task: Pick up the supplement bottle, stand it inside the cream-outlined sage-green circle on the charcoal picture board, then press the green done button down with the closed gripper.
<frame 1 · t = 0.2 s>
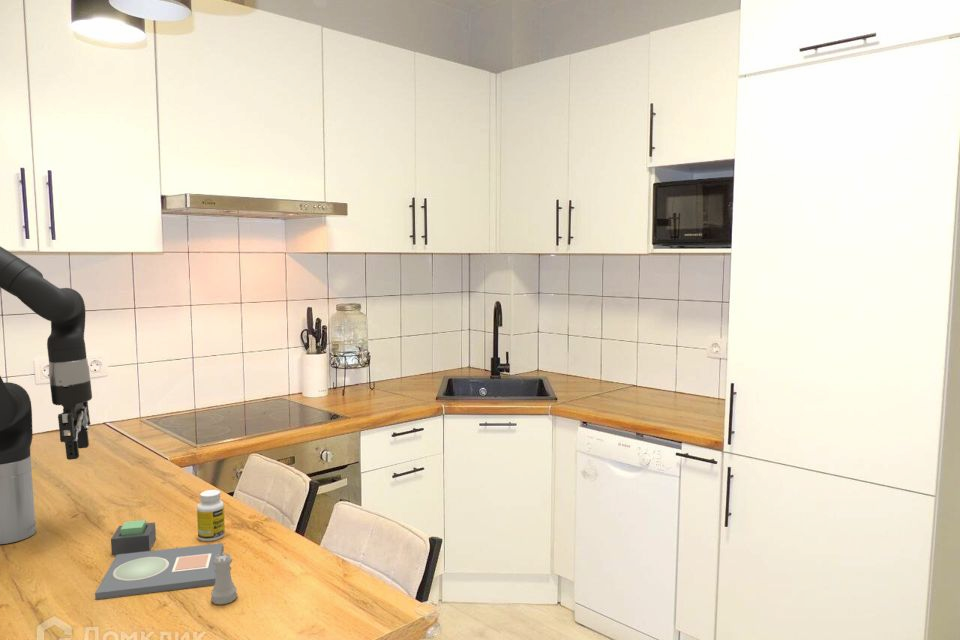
hand: (78, 453, 150), 17 cm above the counter, tool pointing down, fingers open, 8 cm apart
done button: (133, 530, 142), point 4 cm above the counter, slide at 0.0 cm
rook chess piece: (224, 600, 121), on the counter
picture board: (164, 572, 131), on the counter
supplement bottle: (211, 537, 148), on the counter
button housing: (134, 546, 143), on the counter
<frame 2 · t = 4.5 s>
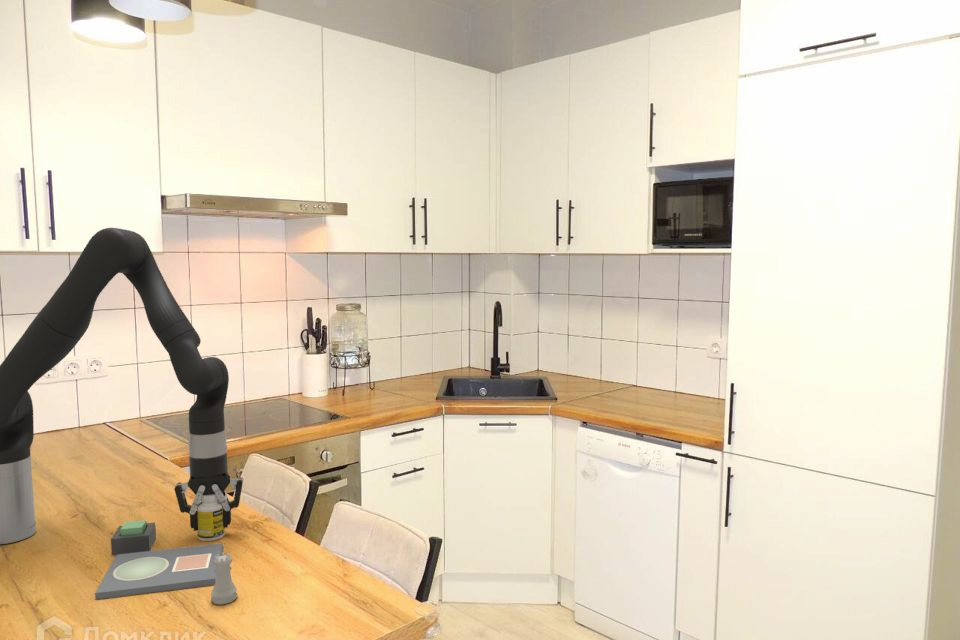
hand: (211, 527, 148), 2 cm above the counter, tool pointing down, fingers closed on supplement bottle, 5 cm apart
supplement bottle: (211, 537, 148), on the counter, touching gripper
everything else where it was.
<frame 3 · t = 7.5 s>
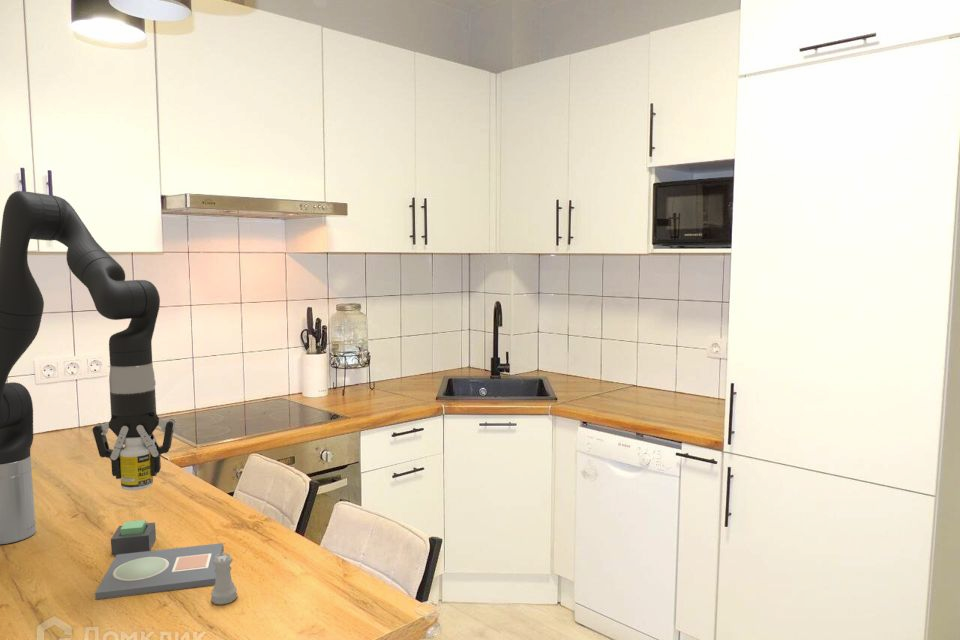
hand: (137, 475, 129), 19 cm above the counter, tool pointing down, fingers closed on supplement bottle, 5 cm apart
supplement bottle: (137, 487, 129), point 17 cm above the counter, touching gripper
everything else where it was.
when the fingers open (5 cm above the counter, at t = 10.6 s): supplement bottle drops 2 cm, resting on picture board.
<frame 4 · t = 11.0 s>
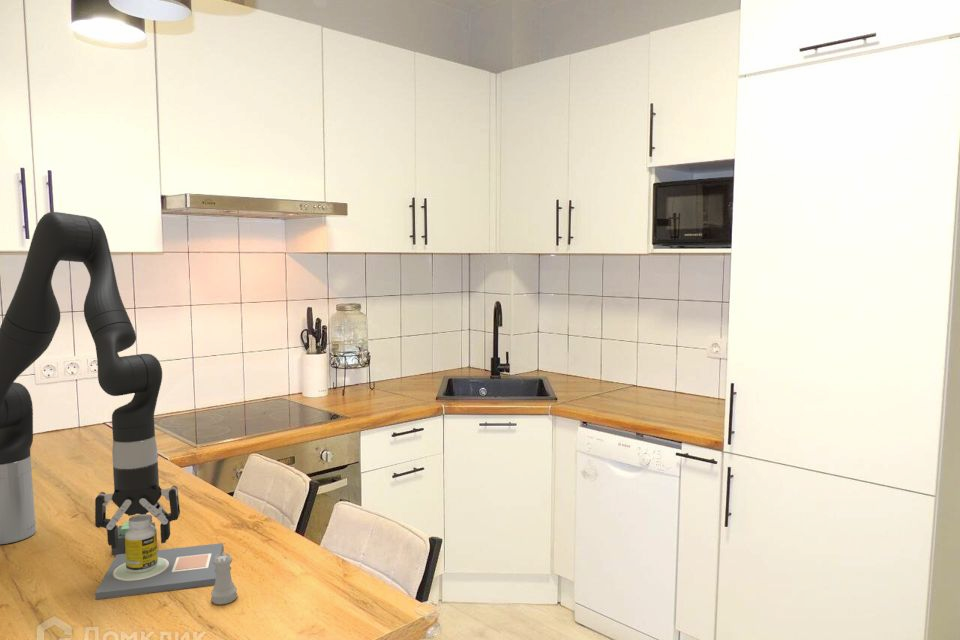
hand: (140, 544, 130), 6 cm above the counter, tool pointing down, fingers open, 8 cm apart
supplement bottle: (142, 568, 130), point 1 cm above the counter, touching picture board
everything else where it was.
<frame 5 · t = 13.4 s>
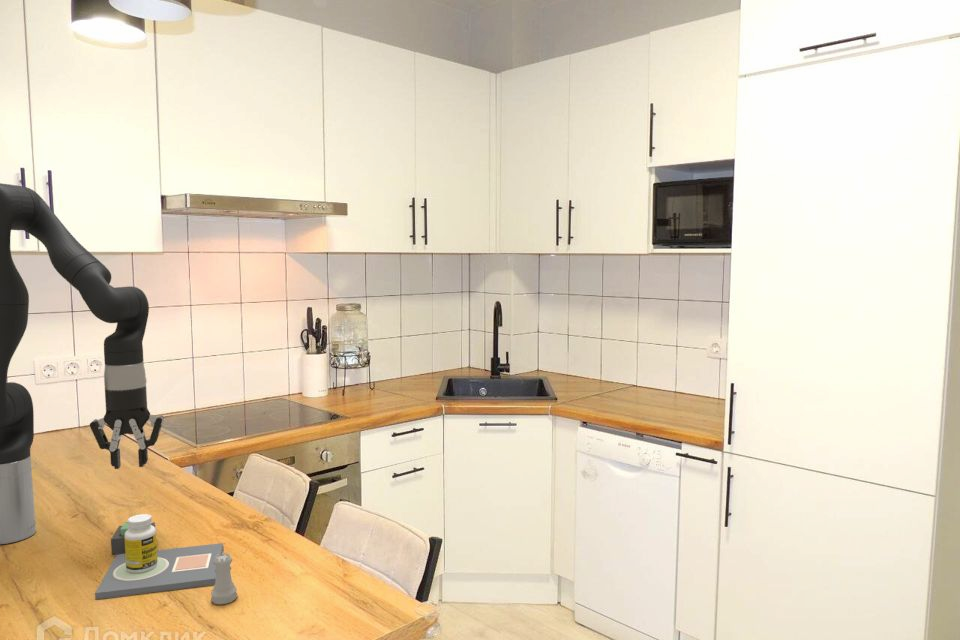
hand: (130, 466, 141), 17 cm above the counter, tool pointing down, fingers open, 4 cm apart
nothing on the counter moved.
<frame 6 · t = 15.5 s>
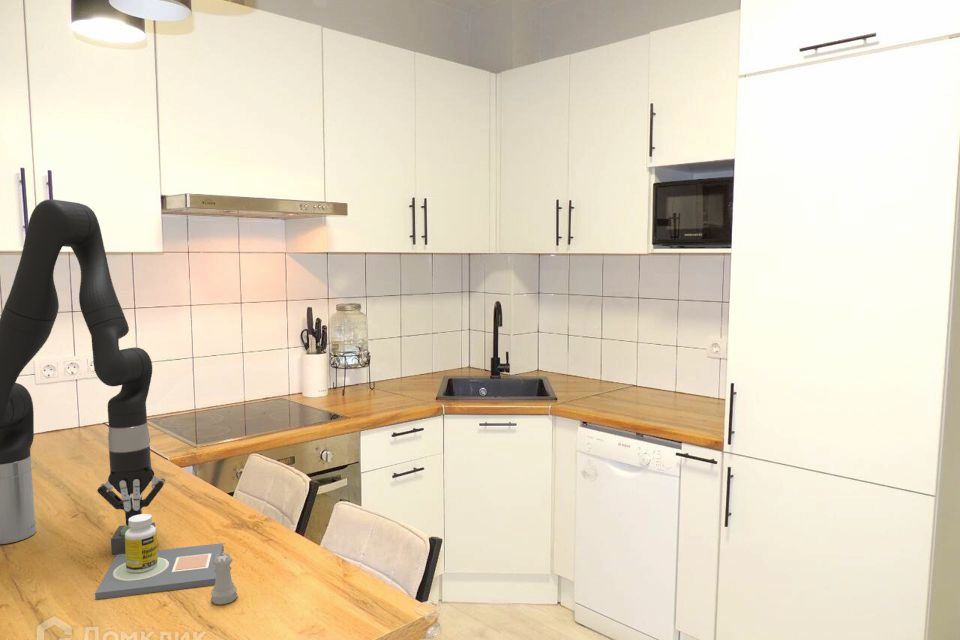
hand: (134, 526, 142), 4 cm above the counter, tool pointing down, fingers closed
done button: (133, 532, 142), point 3 cm above the counter, slide at 0.5 cm, touching gripper
everything else where it was.
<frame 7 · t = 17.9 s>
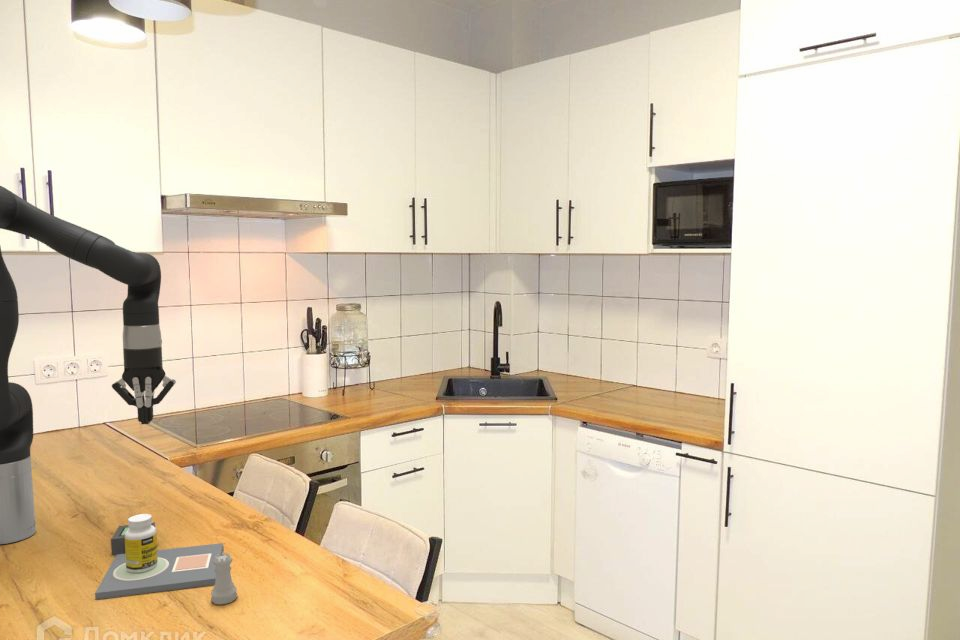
hand: (146, 423, 150), 24 cm above the counter, tool pointing down, fingers closed
done button: (133, 535, 143), point 2 cm above the counter, slide at 1.3 cm
everything else where it was.
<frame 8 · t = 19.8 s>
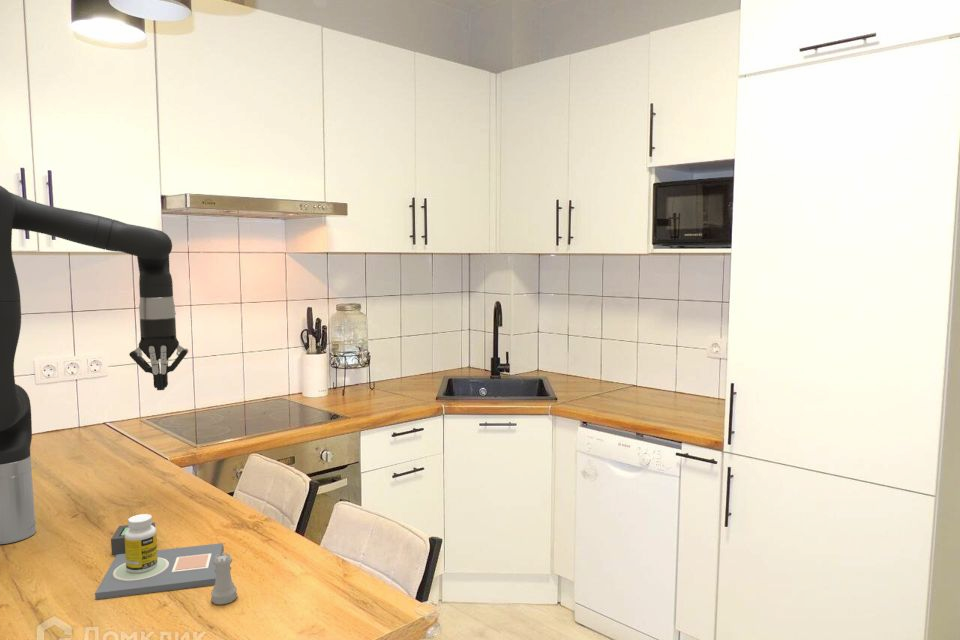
hand: (161, 389, 161), 29 cm above the counter, tool pointing down, fingers closed
nothing on the counter moved.
at the end: supplement bottle 0.2 cm from the target spot on the picture board, point 1.2 cm above the picture board's base; supplement bottle tilted 1°; done button slide at 1.3 cm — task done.
